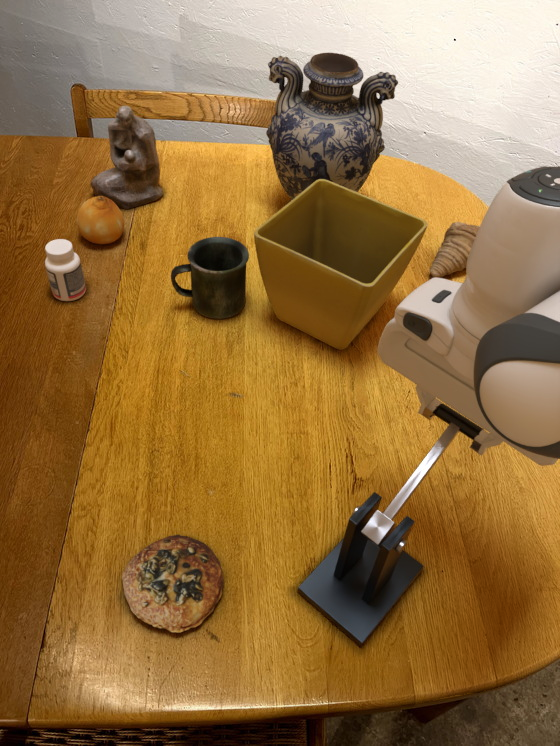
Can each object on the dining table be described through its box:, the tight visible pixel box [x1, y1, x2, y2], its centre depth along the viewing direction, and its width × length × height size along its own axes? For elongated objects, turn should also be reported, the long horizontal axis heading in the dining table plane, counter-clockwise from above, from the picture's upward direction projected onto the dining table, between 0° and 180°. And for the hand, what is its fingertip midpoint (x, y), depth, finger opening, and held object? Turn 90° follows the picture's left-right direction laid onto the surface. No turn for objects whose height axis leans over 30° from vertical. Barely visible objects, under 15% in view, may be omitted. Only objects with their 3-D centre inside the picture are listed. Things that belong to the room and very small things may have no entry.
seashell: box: [429, 221, 480, 278], centre depth 113 cm, size 14×8×8 cm
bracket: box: [296, 491, 425, 648], centre depth 70 cm, size 12×9×14 cm
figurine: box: [90, 105, 164, 210], centre depth 118 cm, size 13×12×18 cm
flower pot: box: [253, 179, 429, 351], centre depth 99 cm, size 19×19×17 cm
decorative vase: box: [265, 52, 399, 201], centre depth 114 cm, size 21×19×28 cm
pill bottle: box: [44, 238, 87, 302], centre depth 102 cm, size 5×5×9 cm
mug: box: [170, 236, 250, 320], centre depth 101 cm, size 9×12×10 cm
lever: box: [361, 402, 485, 548], centre depth 67 cm, size 16×5×2 cm, turn 138°
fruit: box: [76, 196, 125, 245], centre depth 113 cm, size 8×8×8 cm
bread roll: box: [121, 534, 225, 634], centre depth 71 cm, size 11×11×5 cm
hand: (452, 430), depth 68 cm, fingers closed on lever, 5 cm apart
